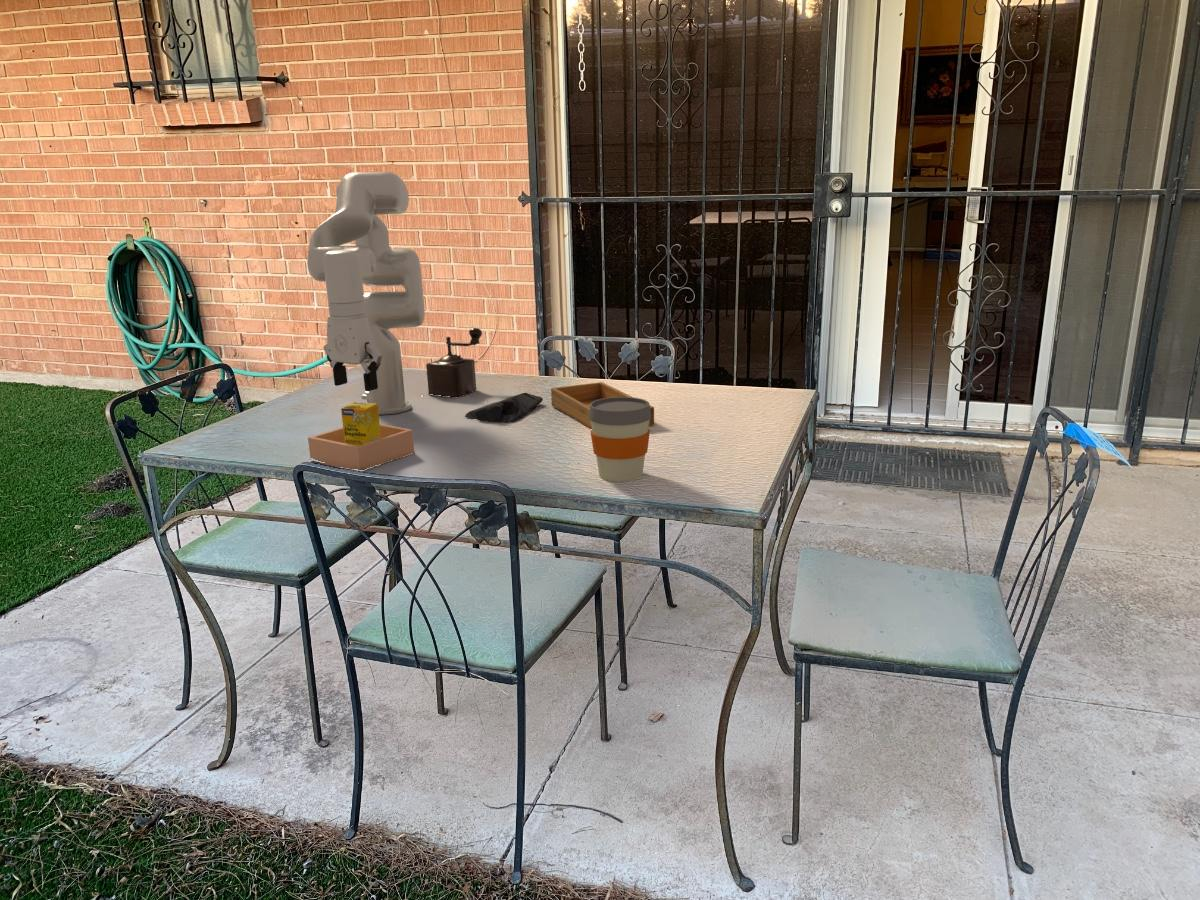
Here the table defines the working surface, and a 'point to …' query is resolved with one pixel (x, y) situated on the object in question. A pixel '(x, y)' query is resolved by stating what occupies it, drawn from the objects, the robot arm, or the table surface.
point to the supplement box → (360, 423)
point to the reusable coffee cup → (620, 436)
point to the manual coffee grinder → (453, 371)
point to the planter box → (361, 448)
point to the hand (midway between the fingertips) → (356, 387)
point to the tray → (585, 400)
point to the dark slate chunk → (506, 409)
